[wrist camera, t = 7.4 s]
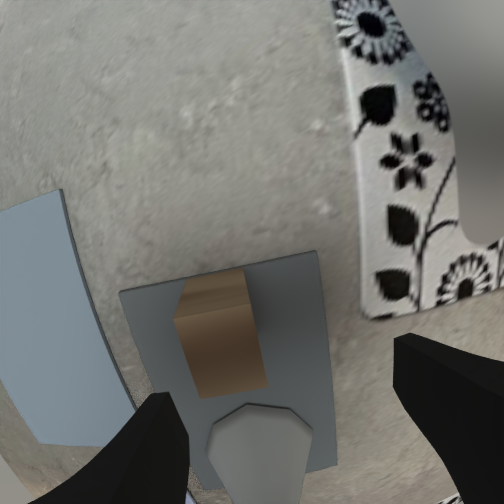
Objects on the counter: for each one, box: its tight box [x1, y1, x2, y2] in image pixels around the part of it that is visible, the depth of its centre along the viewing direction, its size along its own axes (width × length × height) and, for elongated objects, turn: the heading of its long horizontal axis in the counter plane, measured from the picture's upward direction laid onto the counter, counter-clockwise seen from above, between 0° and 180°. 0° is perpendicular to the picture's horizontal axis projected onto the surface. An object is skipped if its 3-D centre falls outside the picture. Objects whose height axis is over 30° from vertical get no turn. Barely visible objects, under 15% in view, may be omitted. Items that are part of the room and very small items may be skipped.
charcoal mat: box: [118, 250, 337, 490], centre depth 17 cm, size 18×11×5 cm, turn 11°
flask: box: [205, 405, 313, 504], centre depth 15 cm, size 7×7×10 cm
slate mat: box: [0, 189, 137, 447], centre depth 17 cm, size 18×11×1 cm, turn 11°
